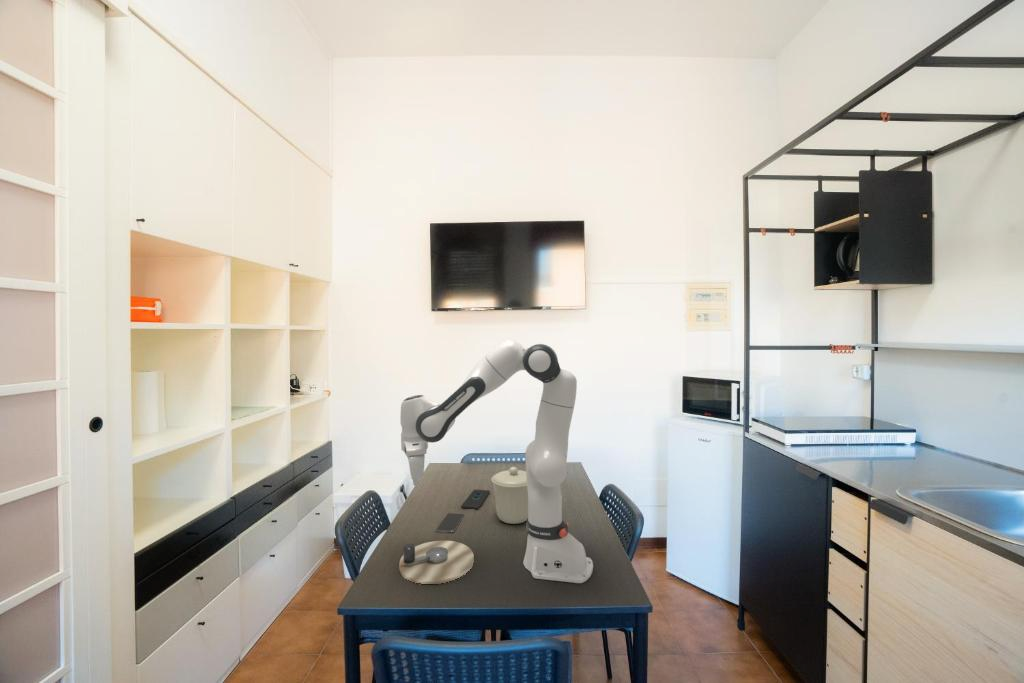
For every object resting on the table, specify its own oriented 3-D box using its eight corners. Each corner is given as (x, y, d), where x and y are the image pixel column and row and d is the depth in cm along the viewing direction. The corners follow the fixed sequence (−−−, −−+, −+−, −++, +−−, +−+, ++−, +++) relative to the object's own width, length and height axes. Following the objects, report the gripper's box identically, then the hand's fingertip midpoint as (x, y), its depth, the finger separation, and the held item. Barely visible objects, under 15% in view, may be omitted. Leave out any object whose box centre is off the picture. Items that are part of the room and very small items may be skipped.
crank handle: (444, 550, 141) (444, 534, 141) (450, 560, 134) (450, 543, 134) (401, 559, 135) (401, 542, 135) (405, 570, 129) (405, 553, 129)
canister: (532, 530, 158) (532, 475, 158) (486, 526, 162) (486, 473, 162) (538, 511, 176) (538, 461, 176) (497, 507, 180) (497, 459, 179)
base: (486, 552, 143) (486, 547, 143) (450, 592, 121) (449, 586, 121) (427, 539, 152) (426, 535, 152) (383, 574, 130) (383, 569, 130)
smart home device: (490, 490, 197) (478, 507, 177) (490, 493, 197) (478, 511, 177) (473, 489, 198) (460, 505, 179) (473, 492, 198) (460, 509, 179)
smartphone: (464, 513, 173) (453, 531, 157) (464, 516, 173) (453, 533, 157) (447, 512, 174) (435, 529, 158) (447, 515, 174) (435, 532, 158)
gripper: (403, 437, 149) (405, 475, 150) (406, 452, 130) (407, 496, 130) (421, 435, 151) (423, 473, 151) (426, 450, 132) (428, 493, 132)
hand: (416, 484), depth 140 cm, fingers closed
